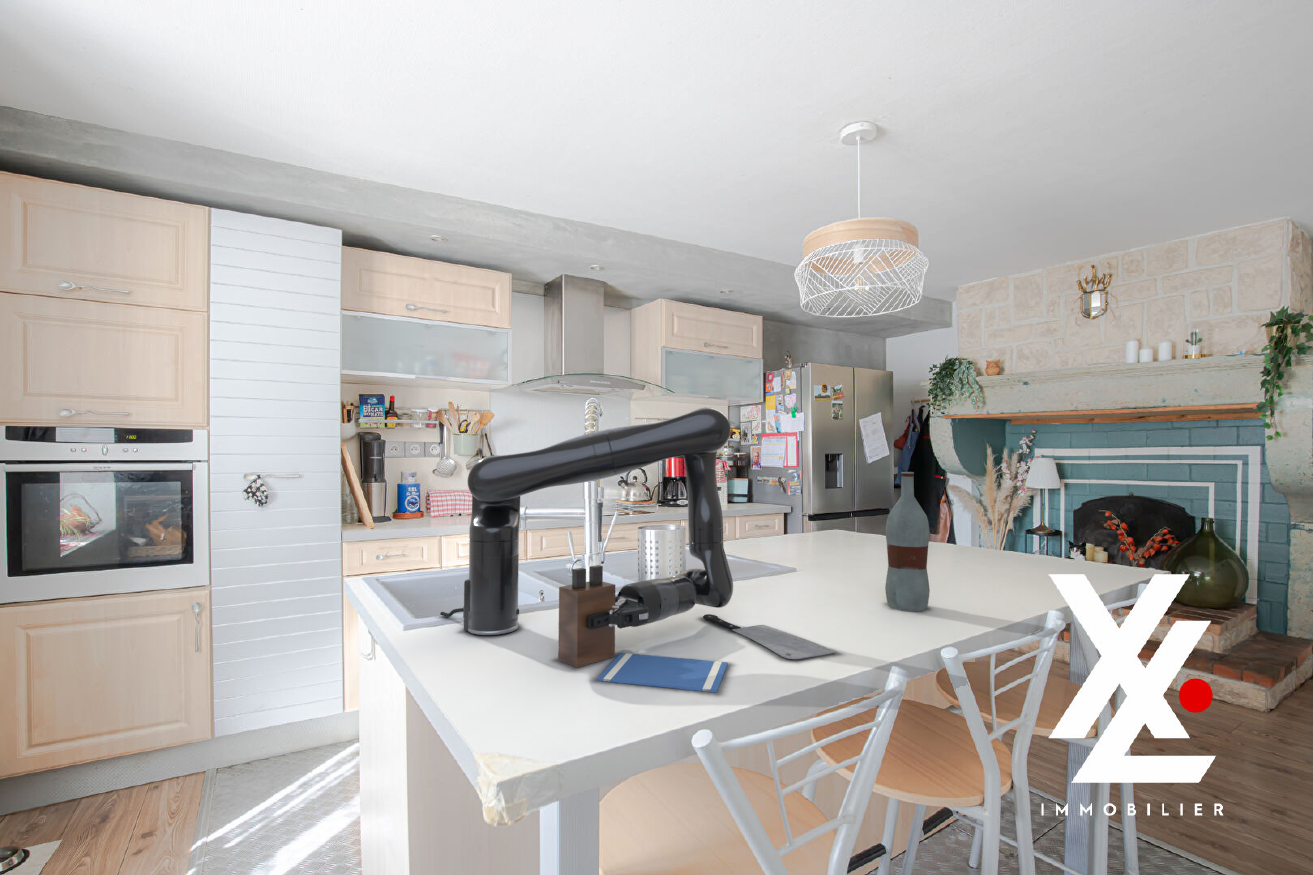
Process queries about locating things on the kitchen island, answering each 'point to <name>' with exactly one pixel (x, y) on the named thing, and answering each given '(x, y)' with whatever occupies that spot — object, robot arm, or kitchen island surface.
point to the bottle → (907, 551)
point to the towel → (665, 672)
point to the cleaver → (776, 640)
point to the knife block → (585, 618)
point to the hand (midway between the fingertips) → (575, 618)
